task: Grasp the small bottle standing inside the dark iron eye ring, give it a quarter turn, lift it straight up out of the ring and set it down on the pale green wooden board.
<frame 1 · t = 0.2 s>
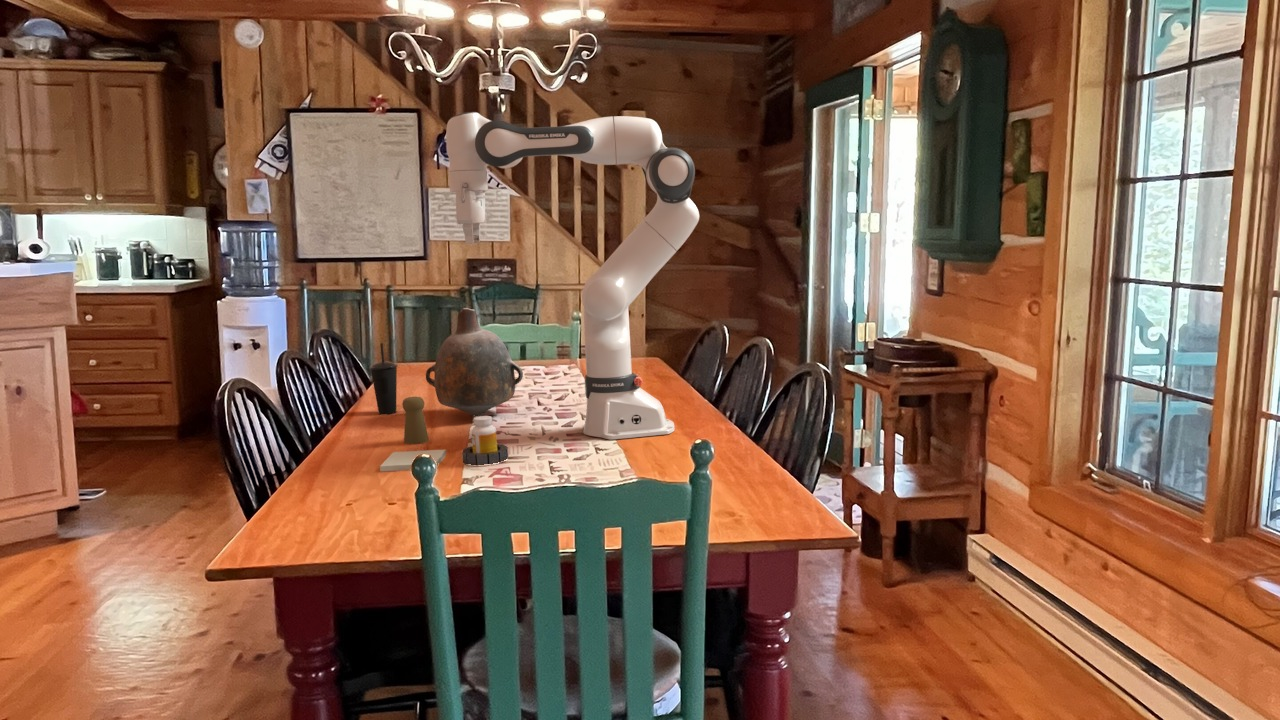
hand: (473, 243, 217), 47 cm above the table, tool pointing down, fingers open, 8 cm apart
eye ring: (485, 460, 203), on the table
supplement bottle: (485, 461, 203), resting in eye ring
jug: (477, 417, 250), on the table
board: (414, 462, 203), on the table
drinking cup: (387, 413, 260), on the table
cork: (416, 442, 224), on the table
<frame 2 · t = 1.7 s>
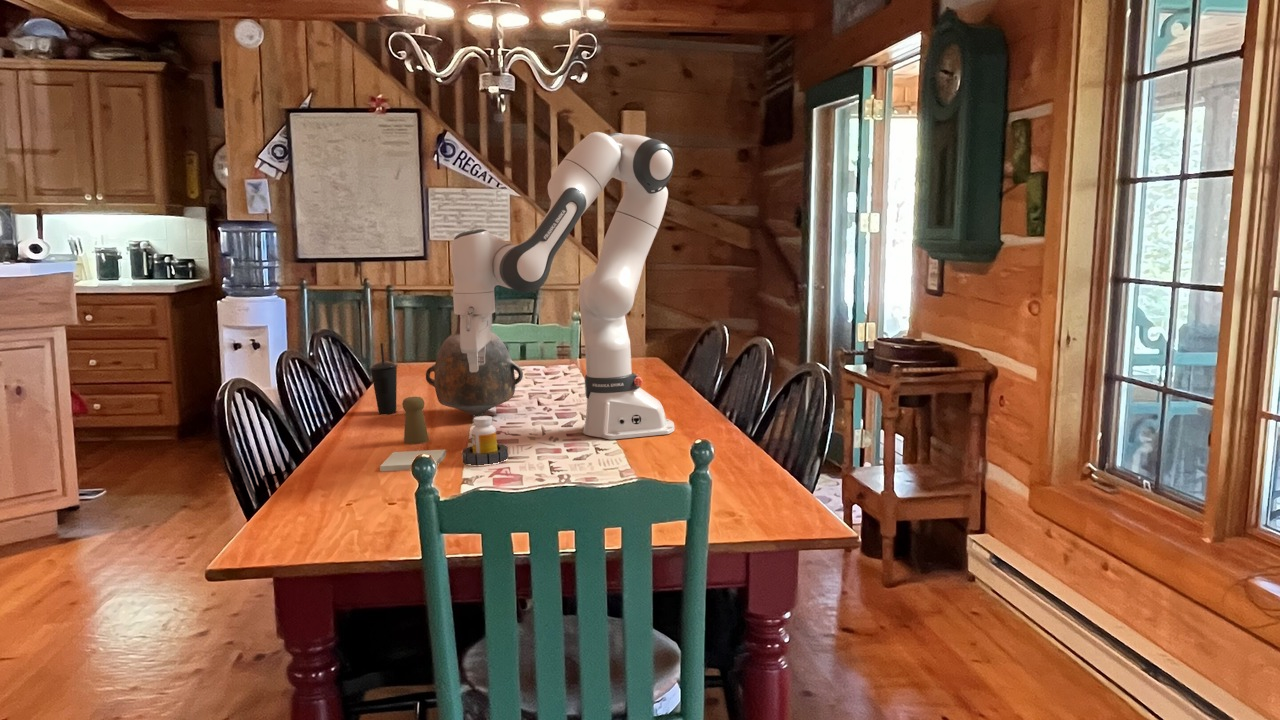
hand: (477, 368, 200), 21 cm above the table, tool pointing down, fingers open, 8 cm apart
nothing on the table moved.
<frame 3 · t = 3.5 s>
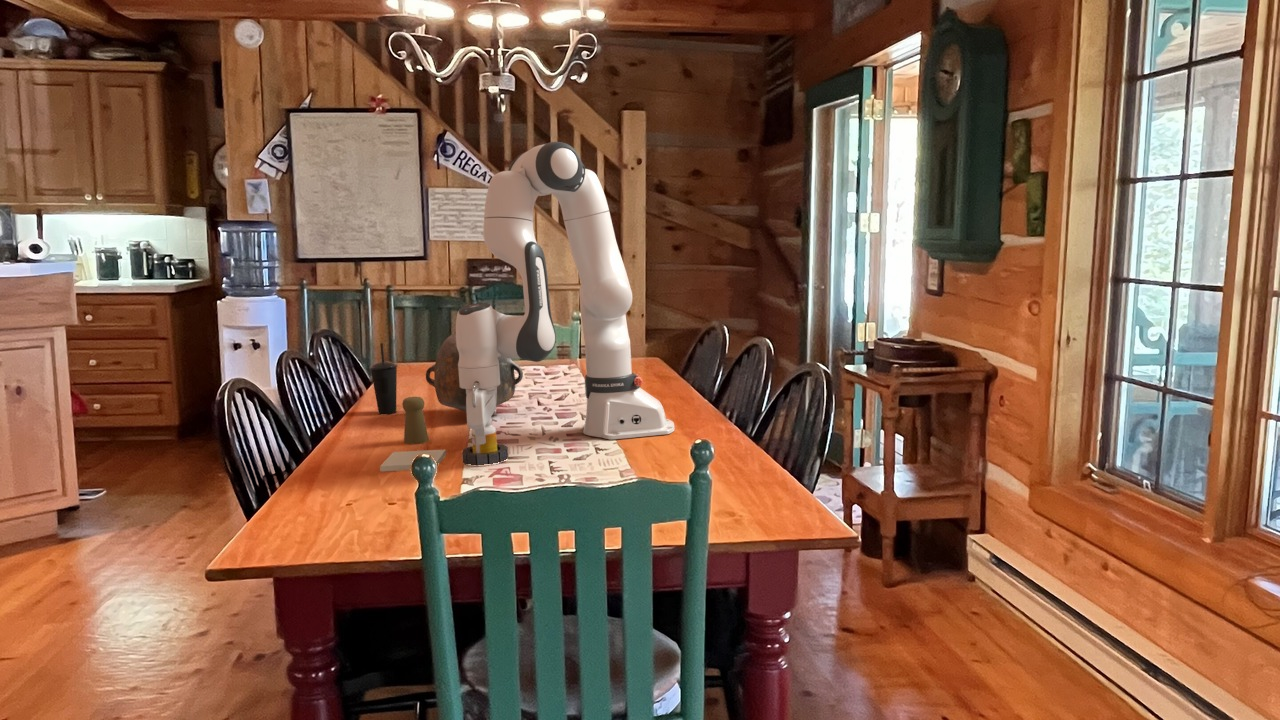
hand: (484, 439, 202), 5 cm above the table, tool pointing down, fingers closed on supplement bottle, 5 cm apart
supplement bottle: (485, 461, 203), resting in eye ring, touching gripper
everything else where it was.
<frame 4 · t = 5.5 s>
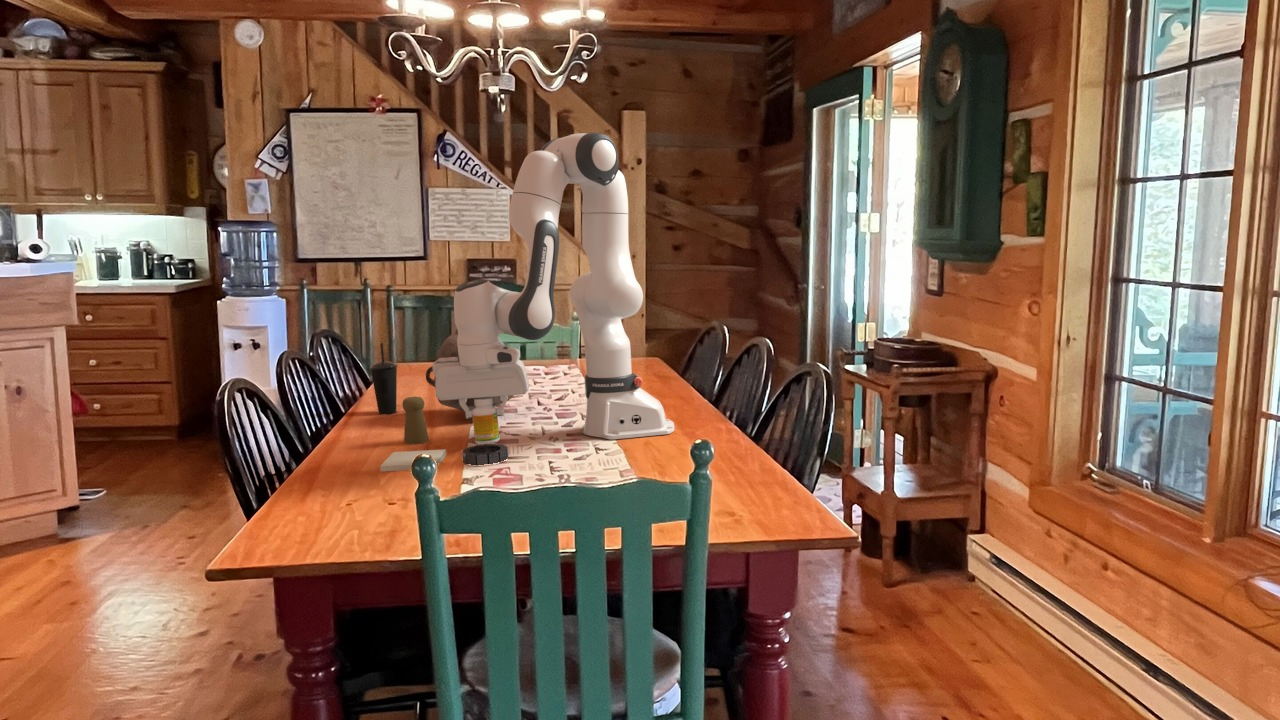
hand: (485, 416, 202), 10 cm above the table, tool pointing down, fingers closed on supplement bottle, 5 cm apart
supplement bottle: (487, 442, 202), point 4 cm above the table, touching gripper
everything else where it was.
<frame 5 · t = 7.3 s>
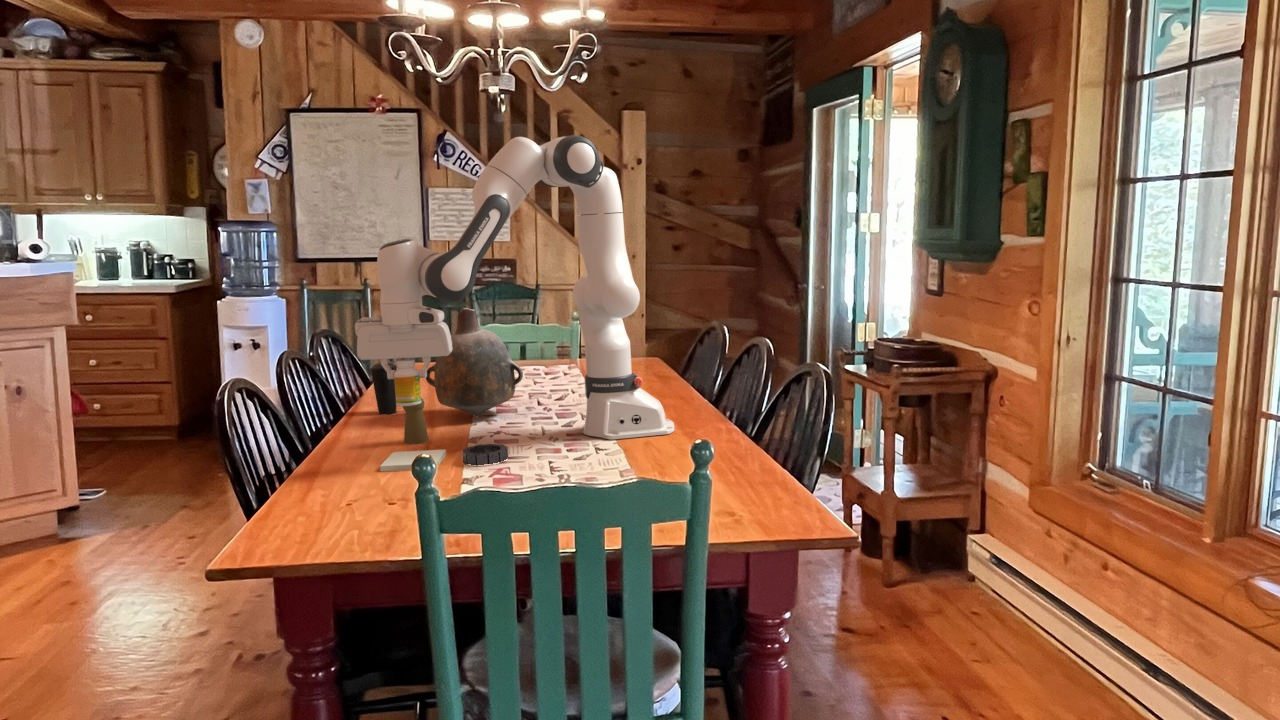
hand: (407, 378, 200), 19 cm above the table, tool pointing down, fingers closed on supplement bottle, 5 cm apart
supplement bottle: (409, 405, 201), point 13 cm above the table, touching gripper
everything else where it was.
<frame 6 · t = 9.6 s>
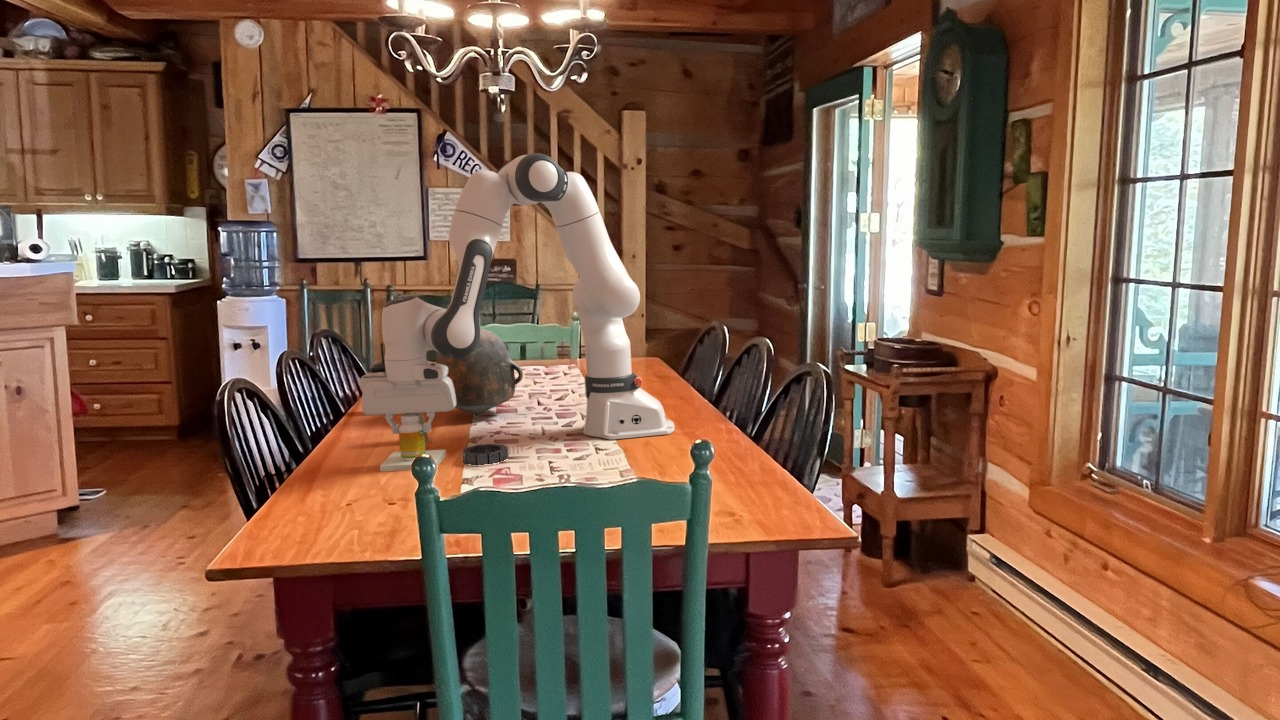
hand: (411, 432, 202), 7 cm above the table, tool pointing down, fingers closed on supplement bottle, 5 cm apart
supplement bottle: (413, 459, 203), point 1 cm above the table, touching board, gripper
everything else where it was.
when the fingers open (7 cm above the table, at t = 10.0 s): supplement bottle stays where it is, resting on board.
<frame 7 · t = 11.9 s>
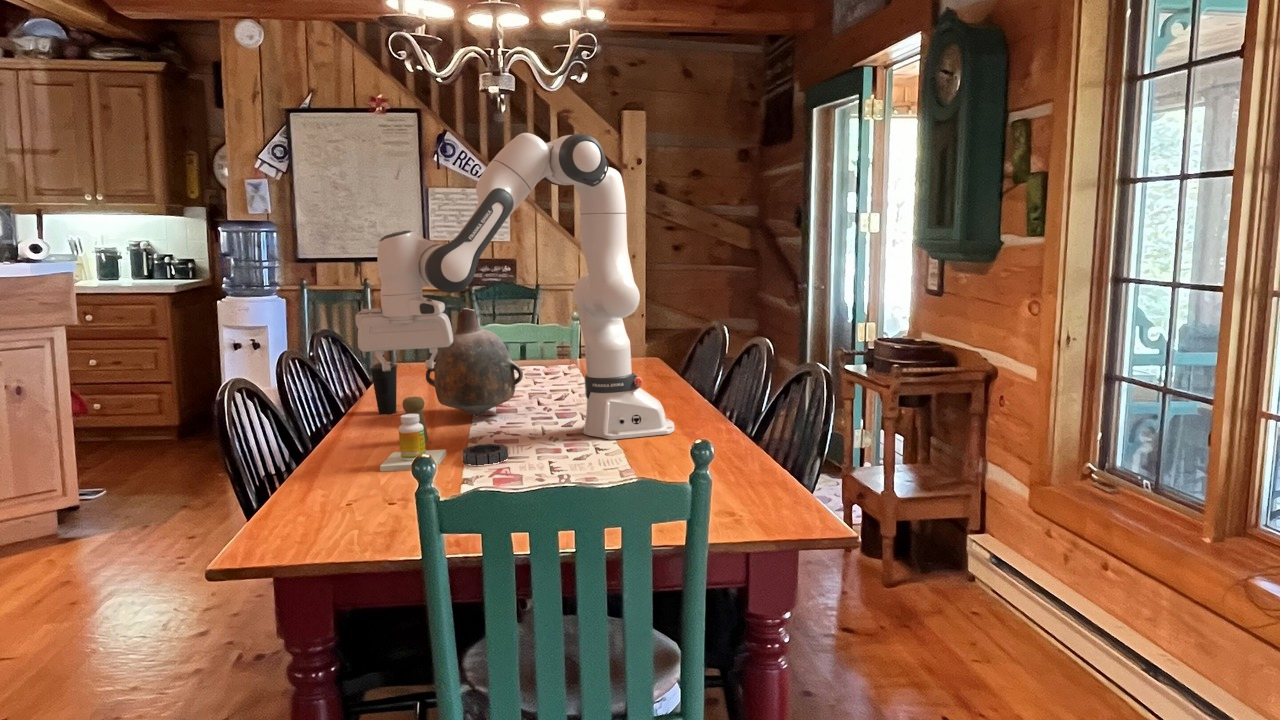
hand: (408, 369, 201), 21 cm above the table, tool pointing down, fingers open, 8 cm apart
supplement bottle: (413, 459, 203), point 1 cm above the table, touching board
everything else where it was.
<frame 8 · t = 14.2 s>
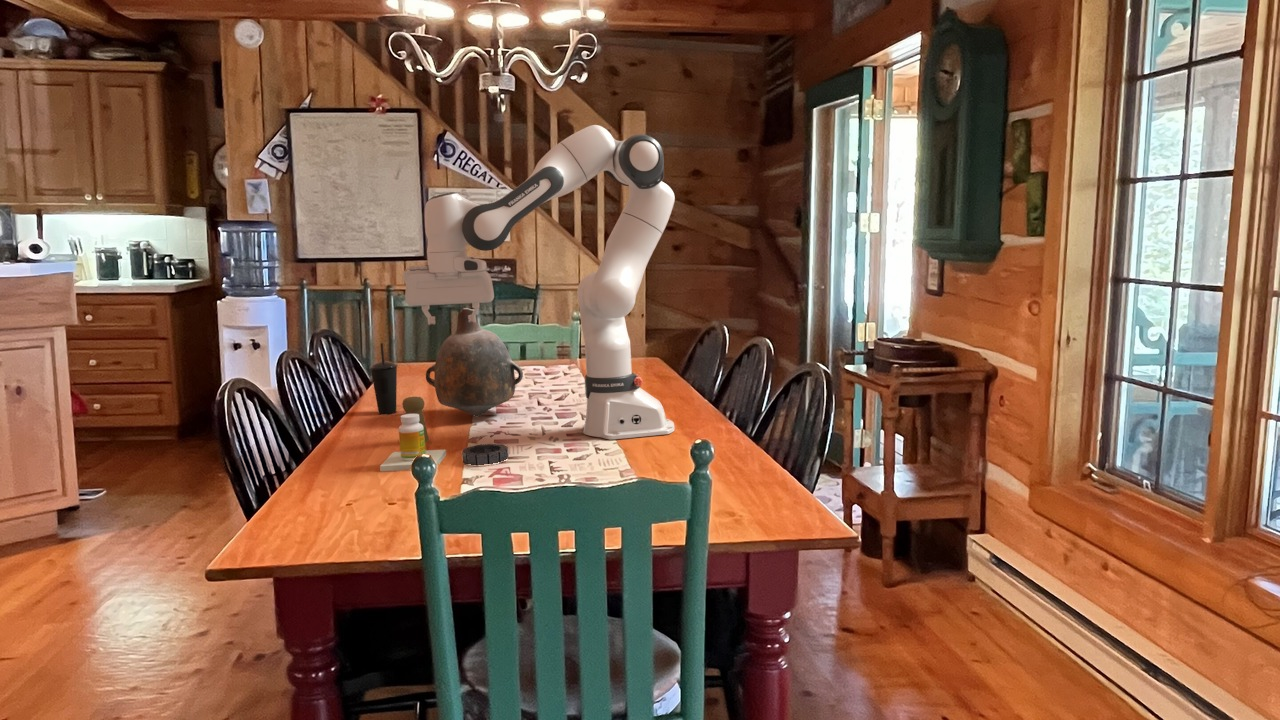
hand: (452, 323, 214), 29 cm above the table, tool pointing down, fingers open, 8 cm apart
nothing on the table moved.
at the end: supplement bottle inside the target area on the board (0.6 cm from its centre), point 1.0 cm above the board's base; supplement bottle tilted 0°; the gripper is holding nothing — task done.
